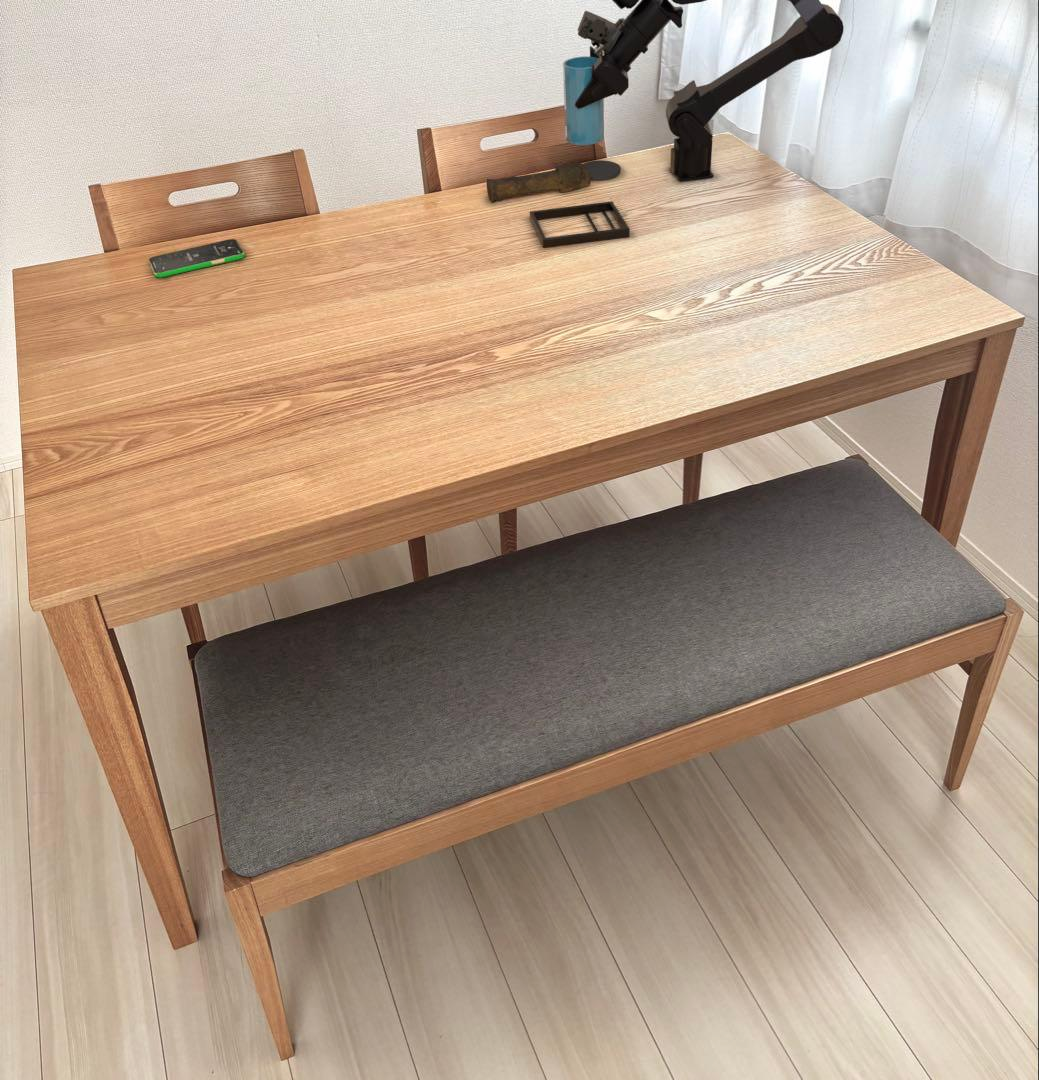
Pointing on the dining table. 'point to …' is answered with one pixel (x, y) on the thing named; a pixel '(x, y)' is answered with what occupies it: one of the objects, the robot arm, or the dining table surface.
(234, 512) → the dining table surface
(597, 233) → the black rectangular frame
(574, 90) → the cup
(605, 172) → the trivet
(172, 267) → the smartphone
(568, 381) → the dining table surface
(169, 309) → the dining table surface
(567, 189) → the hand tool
